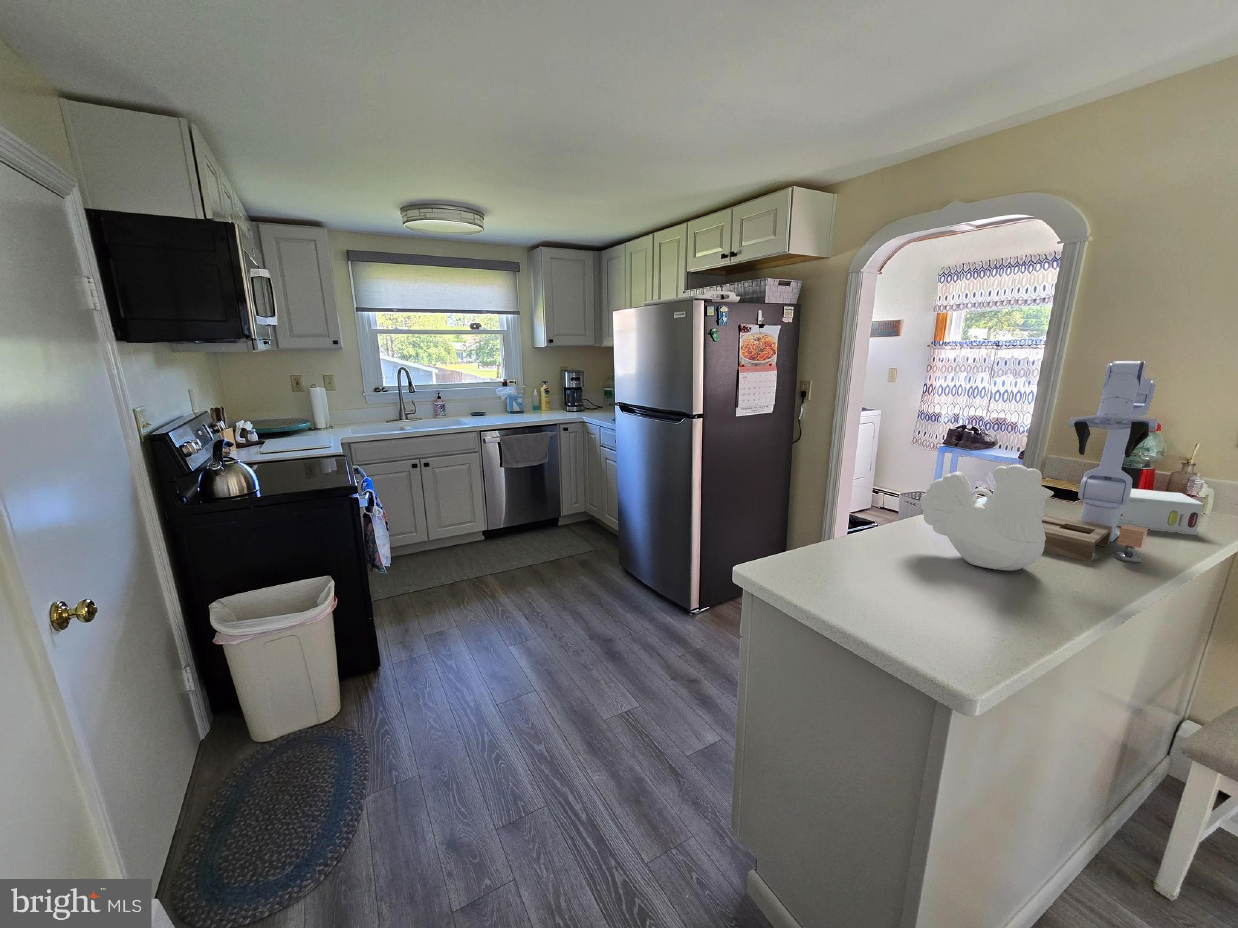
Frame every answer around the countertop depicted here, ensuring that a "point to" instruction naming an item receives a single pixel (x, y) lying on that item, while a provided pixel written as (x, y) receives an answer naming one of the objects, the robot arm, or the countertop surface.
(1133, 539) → the brown piece
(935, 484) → the decorative rooster
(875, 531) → the countertop surface
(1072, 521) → the keyhole board
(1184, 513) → the supplement box
